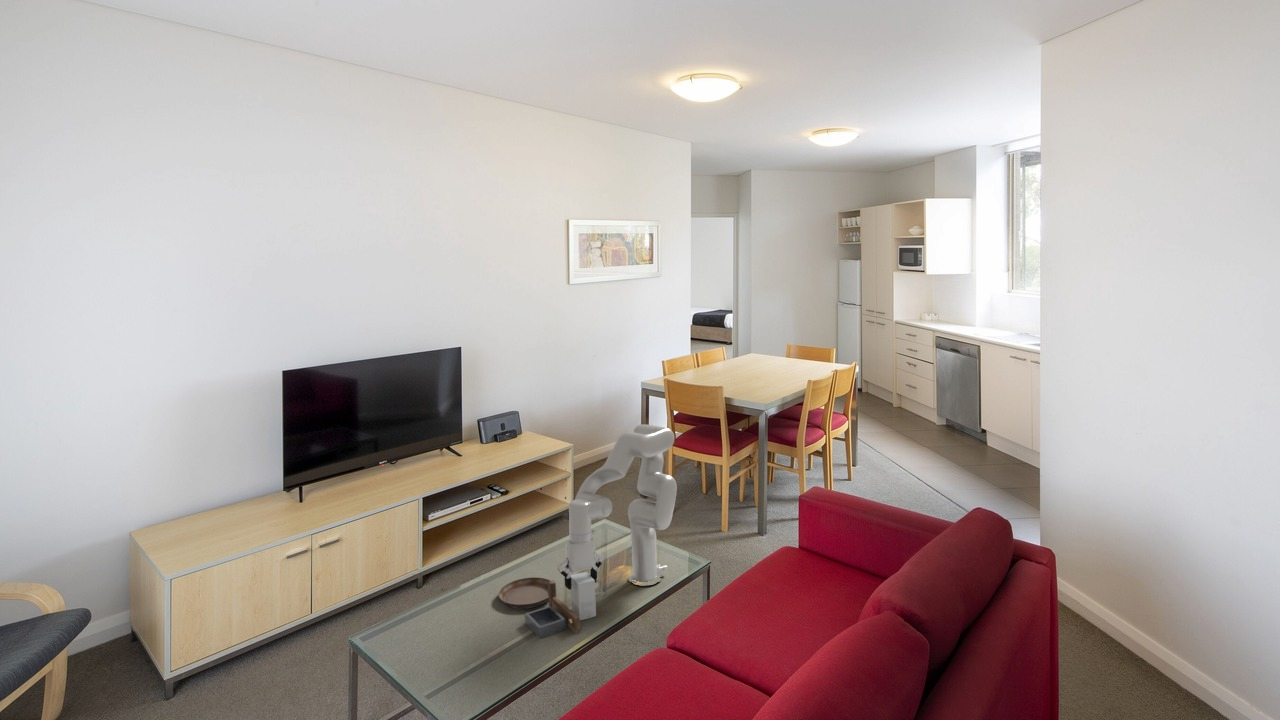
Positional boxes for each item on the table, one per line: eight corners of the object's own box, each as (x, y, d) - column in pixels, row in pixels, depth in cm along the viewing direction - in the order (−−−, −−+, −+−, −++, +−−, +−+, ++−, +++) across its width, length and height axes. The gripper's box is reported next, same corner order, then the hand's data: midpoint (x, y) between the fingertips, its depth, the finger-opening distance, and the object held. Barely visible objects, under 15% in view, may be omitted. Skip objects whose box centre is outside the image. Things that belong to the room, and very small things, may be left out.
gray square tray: (551, 615, 220) (550, 605, 220) (566, 629, 211) (565, 619, 210) (525, 623, 215) (524, 613, 215) (539, 638, 206) (539, 628, 205)
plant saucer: (500, 616, 221) (500, 607, 221) (497, 590, 241) (497, 581, 241) (560, 607, 227) (559, 598, 226) (552, 582, 246) (551, 573, 246)
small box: (596, 616, 219) (595, 580, 217) (579, 621, 216) (577, 584, 215) (588, 606, 226) (586, 571, 225) (571, 610, 223) (569, 575, 222)
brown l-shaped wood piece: (554, 607, 226) (553, 580, 225) (580, 631, 209) (579, 602, 208) (546, 609, 224) (545, 582, 223) (572, 634, 207) (571, 605, 206)
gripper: (597, 528, 226) (597, 574, 227) (552, 538, 216) (553, 587, 218) (607, 534, 219) (608, 582, 221) (562, 545, 210) (563, 595, 211)
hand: (581, 584), depth 219 cm, fingers open, 9 cm apart
